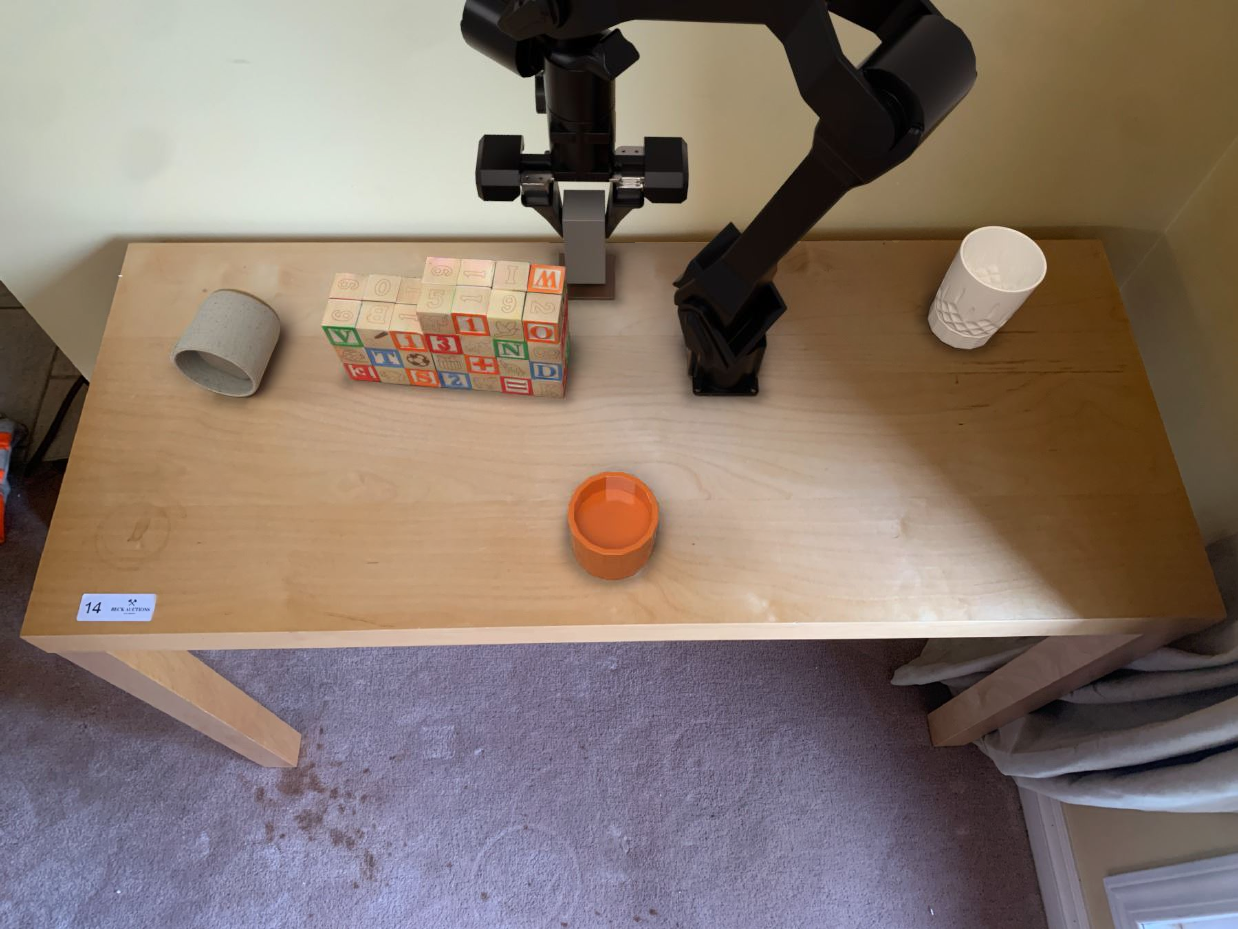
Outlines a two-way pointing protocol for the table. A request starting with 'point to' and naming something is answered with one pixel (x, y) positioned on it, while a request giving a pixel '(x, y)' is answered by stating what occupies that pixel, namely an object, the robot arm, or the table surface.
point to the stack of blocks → (455, 326)
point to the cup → (612, 524)
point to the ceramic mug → (228, 343)
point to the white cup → (985, 285)
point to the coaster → (593, 290)
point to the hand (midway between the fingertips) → (585, 234)
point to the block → (584, 236)
